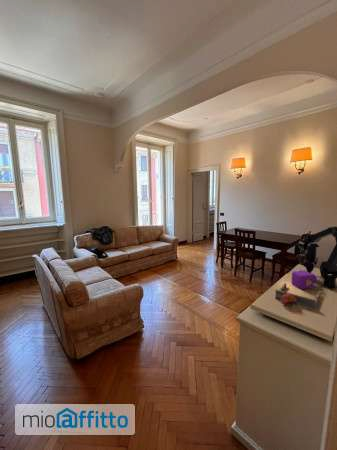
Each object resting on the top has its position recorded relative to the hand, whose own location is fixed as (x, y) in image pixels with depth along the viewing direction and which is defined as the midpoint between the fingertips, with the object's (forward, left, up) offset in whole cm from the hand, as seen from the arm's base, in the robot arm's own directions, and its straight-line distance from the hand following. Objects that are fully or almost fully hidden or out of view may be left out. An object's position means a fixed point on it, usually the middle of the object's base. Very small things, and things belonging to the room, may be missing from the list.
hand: (310, 272), depth 147 cm
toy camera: (+17, +9, -3) cm, 19 cm away
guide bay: (+33, +18, -3) cm, 38 cm away
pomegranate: (+46, +22, -3) cm, 51 cm away
